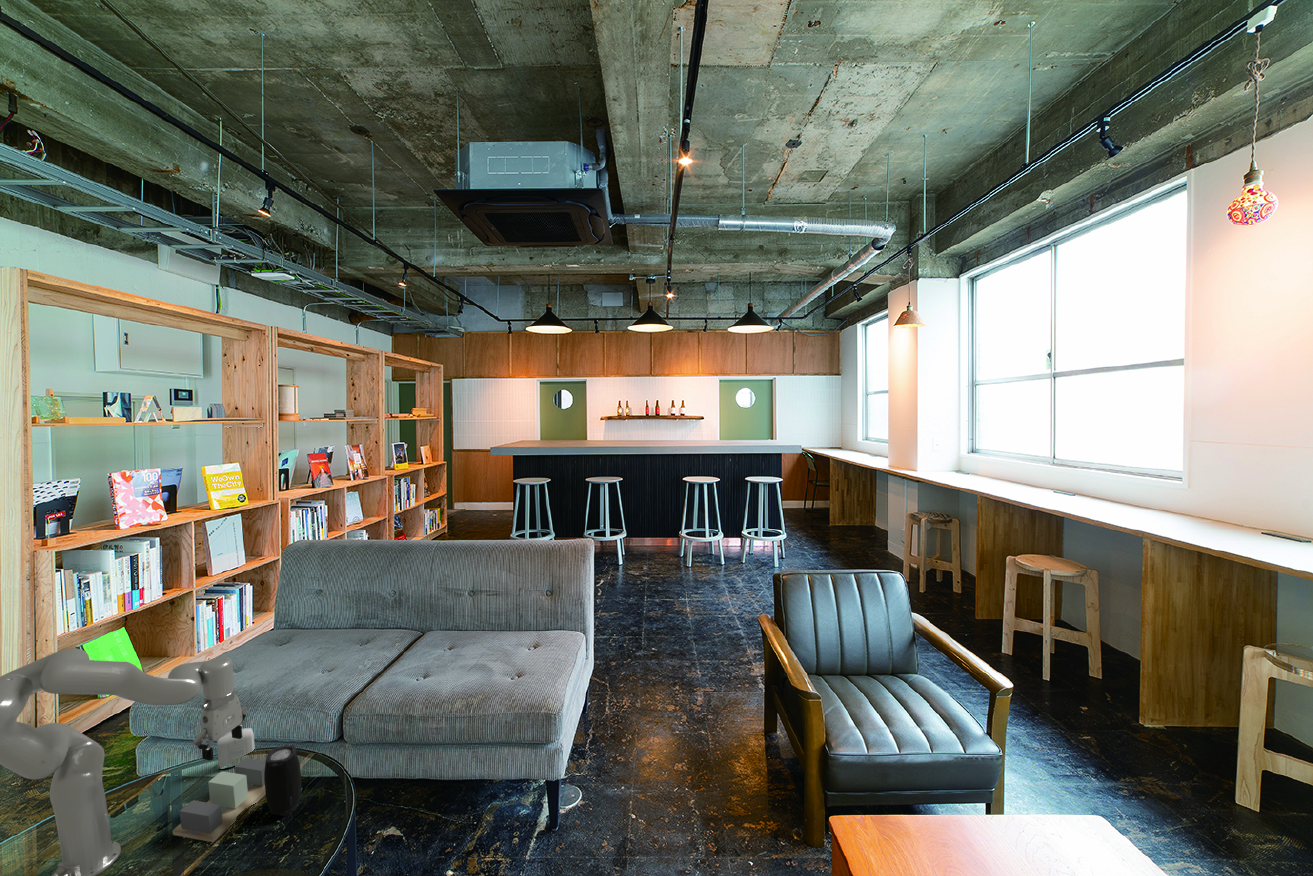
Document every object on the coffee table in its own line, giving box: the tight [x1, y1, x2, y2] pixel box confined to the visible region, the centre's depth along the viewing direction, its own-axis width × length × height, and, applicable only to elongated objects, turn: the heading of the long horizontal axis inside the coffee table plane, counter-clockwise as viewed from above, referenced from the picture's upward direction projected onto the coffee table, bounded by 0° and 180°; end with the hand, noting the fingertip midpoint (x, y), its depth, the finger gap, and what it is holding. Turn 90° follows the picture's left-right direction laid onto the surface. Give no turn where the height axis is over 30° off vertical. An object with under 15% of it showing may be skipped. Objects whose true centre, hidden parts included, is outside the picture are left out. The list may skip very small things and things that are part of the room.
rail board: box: [172, 758, 266, 843], centre depth 172 cm, size 24×14×8 cm, turn 171°
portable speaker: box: [264, 745, 302, 817], centre depth 171 cm, size 9×9×20 cm
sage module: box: [208, 770, 248, 809], centre depth 171 cm, size 4×9×8 cm, turn 82°
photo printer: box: [216, 727, 256, 768], centre depth 189 cm, size 10×4×12 cm, turn 123°
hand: (223, 748), depth 169 cm, fingers open, 9 cm apart
